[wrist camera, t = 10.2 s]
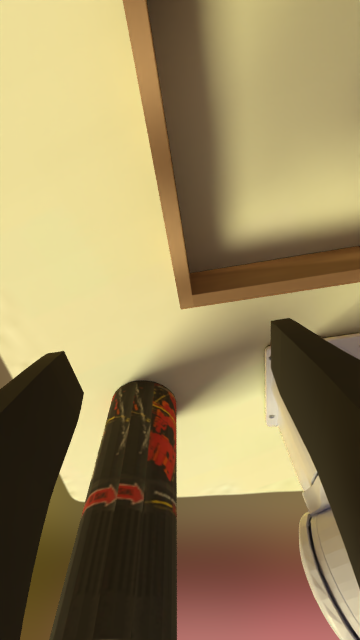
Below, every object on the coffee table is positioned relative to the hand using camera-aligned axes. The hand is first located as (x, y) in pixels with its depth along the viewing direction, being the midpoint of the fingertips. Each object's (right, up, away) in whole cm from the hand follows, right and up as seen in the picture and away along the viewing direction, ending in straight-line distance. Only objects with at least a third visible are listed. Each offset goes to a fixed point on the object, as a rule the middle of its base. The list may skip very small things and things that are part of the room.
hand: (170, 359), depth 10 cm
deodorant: (-3, -6, +16) cm, 18 cm away
